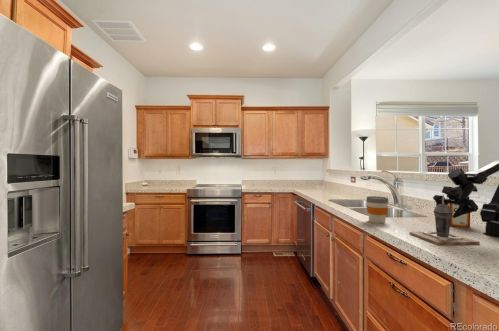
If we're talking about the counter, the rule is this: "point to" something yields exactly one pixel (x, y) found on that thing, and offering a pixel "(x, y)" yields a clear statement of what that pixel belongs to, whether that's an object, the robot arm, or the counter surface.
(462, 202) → the robot arm
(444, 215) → the beverage cup
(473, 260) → the counter surface
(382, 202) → the reusable coffee cup
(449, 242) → the base board
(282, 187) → the counter surface
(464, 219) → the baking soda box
